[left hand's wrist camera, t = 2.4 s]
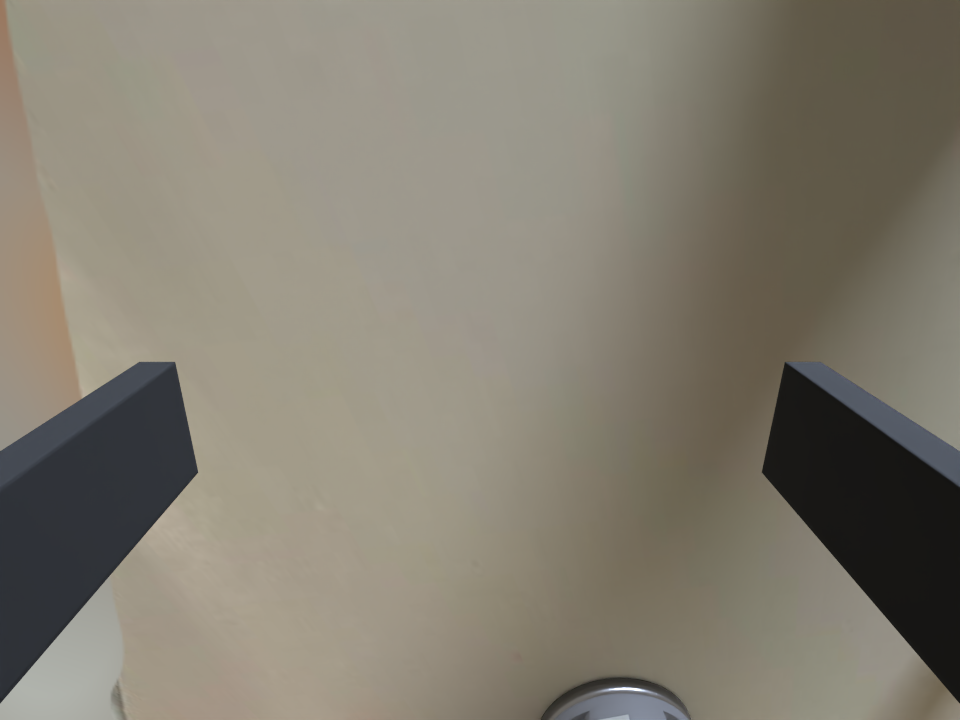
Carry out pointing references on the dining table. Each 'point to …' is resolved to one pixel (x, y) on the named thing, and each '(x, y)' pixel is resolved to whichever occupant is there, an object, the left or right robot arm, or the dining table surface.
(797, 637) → the dining table surface
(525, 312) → the dining table surface
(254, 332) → the dining table surface
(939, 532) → the left robot arm
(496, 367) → the dining table surface
